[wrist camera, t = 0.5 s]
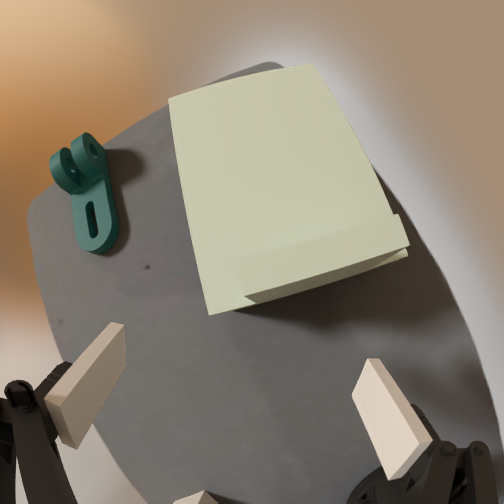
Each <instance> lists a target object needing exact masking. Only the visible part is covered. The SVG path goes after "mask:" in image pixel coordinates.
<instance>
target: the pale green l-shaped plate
mask: <svg viewBox="0 0 504 504" xmlns="http://www.w3.org/2000/svg"><path fill="white" fill-rule="evenodd" d="M168 101H169V109H170V117H171V124H172V131H173V138H174V144H175V151H176V157H177V163H178V169H179V175H180V181H181V186H182V192H183V197H184V203H185V208H186V213H187V219H188V224H189V229H190V234H191V238H192V243H193V248H194V253H195V257H196V262H197V266H198V271H199V275H200V280H201V284H202V288H203V292H204V297H205V301H206V305H207V309H208V313H209V316H213V315H217V314H221V313H225V312H229V311H233V310H237V309H240V308H244V307H248V306H252V305H255V304H259V303H263V302H266V301H270V300H273V299H277V298H281V297H284V296H288V295H291V294H294V293H298V292H301V291H305V290H308V289H311V288H315V287H318V286H321V285H324V284H328V283H331V282H334V281H337V280H340V279H344V278H347V277H350V276H353V275H356V274H359V273H362V272H365V271H368V270H371V269H374V268H377V267H380V266H383V265H386V264H389V263H391V262H394V261H397V260H400V259H403V258H405V257H407V256H408V253H407V250H406V247H408V246H409V245H410V244H409V241H408V238H407V235H406V233H405V230H404V227H403V225H402V222H401V220H400V217H399V215H398V214H395V215H393V213H392V210H391V208H390V206H389V203H388V201H387V198H386V196H385V194H384V191H383V189H382V187H381V185H380V183H379V180H378V178H377V176H376V174H375V172H374V170H373V168H372V165H371V163H370V161H369V159H368V157H367V155H366V153H365V152H364V149H363V147H362V146H361V144H360V142H359V140H358V138H357V136H356V134H355V133H354V131H353V129H352V127H351V126H350V123H349V122H348V120H347V118H346V116H345V115H344V113H343V111H342V110H341V108H340V106H339V104H338V103H337V101H336V99H335V98H334V96H333V95H332V93H331V91H330V90H329V88H328V87H327V85H326V84H325V82H324V81H323V79H322V78H321V76H320V75H319V73H318V72H317V70H316V69H315V67H314V66H313V64H308V65H307V64H306V65H300V66H293V67H287V68H281V69H275V70H270V71H265V72H260V73H255V74H251V75H247V76H242V77H238V78H234V79H230V80H227V81H223V82H219V83H216V84H212V85H209V86H205V87H202V88H199V89H196V90H192V91H190V92H186V93H184V94H181V95H178V96H175V97H172V98H169V99H168Z"/></svg>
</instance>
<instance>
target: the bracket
mask: <svg viewBox="0 0 504 504" xmlns="http://www.w3.org/2000/svg"><path fill="white" fill-rule="evenodd" d="M49 166H50V170H51V174H52V176H53V178H54V180H55V182H56V183H57V184H58V185H59V186H60V187H61V188H62V189H63V190H65V191H66V192H68V193H69V194H70V195H71V202H72V211H73V219H74V227H75V234H76V240H77V243H78V244H79V246H80V247H81V248H82V249H84V250H86V251H88V252H91V253H93V254H102V253H104V252H106V251H108V250H109V249H110V248H111V247H112V246H113V244H114V243H115V241H116V239H117V236H118V232H119V222H118V218H117V213H116V209H115V204H114V199H113V194H112V188H111V183H110V177H109V171H108V165H107V159H106V152H105V149H104V148H103V147H102V146H101V145H100V144H99V143H98V142H97V141H96V139H95V138H94V137H92V135H90V134H89V133H83V134H82V135H80V136H79V137H77V138H76V139H75V140H73V141H72V142H71V150H70V149H68V148H66V147H64V148H62V149H60V150H59V151H58V152H56V153H55V154H54V155H52V156H51V158H50V161H49ZM93 209H95V215H96V220H97V226H98V235H96V229H95V224H94V218H93Z"/></svg>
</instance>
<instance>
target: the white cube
mask: <svg viewBox="0 0 504 504" xmlns="http://www.w3.org/2000/svg"><path fill="white" fill-rule="evenodd" d="M173 504H219V503H218V502H217V501H215V500H214V499H213V498H212V497H211V496H210V495H209V494H208V493H207V492H206V491H205V490H204V491H201V492H199V493H196V494H194V495H191V496H188V497H186V498H183V499H180V500H177V501H175V502H174V503H173Z"/></svg>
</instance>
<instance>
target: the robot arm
mask: <svg viewBox="0 0 504 504" xmlns="http://www.w3.org/2000/svg"><path fill="white" fill-rule="evenodd" d="M125 368H126V353H125V335H124V325H121V324H117V323H114V322H111V323H110V324H109V325H108V326H107V327H106V328H105V329H104V330H103V331H102V333H101V334H100V335H99V336H98V337H97V338H96V339H95V340H94V341H93V342H92V343H91V345H90V346H89V347H88V348H87V349H86V350H85V351H84V352H83V353H82V355H81V356H80V357H79V358H78V359H77V360H76V361H75V362H74V364H72V363H69V362H66V361H65V362H63V363H61V364H60V365H57V366H56V368H54V370H53V371H52V372H51V373H50V374H49V375H48V376H47V378H45V379H44V380H43V382H42V383H41V384H40V385H39V386H38V387H37V388H36V389H35V390H34V391H33V388H32V386H31V385H30V384H29V383H28V382H26V381H24V380H16V381H12V382H10V383H8V384H7V386H6V387H5V390H4V393H5V395H6V397H7V399H4V398H0V504H16V500H15V498H16V497H15V477H16V475H15V474H16V457H17V459H18V464H19V469H20V473H21V478H22V482H23V486H24V490H25V493H26V496H27V500H28V503H29V504H78V503H77V501H76V499H75V496H74V494H73V491H72V489H71V486H70V483H69V481H68V478H67V476H66V473H65V470H64V467H63V464H62V461H61V458H60V455H59V451H58V448H57V444H56V442H55V439H56V438H57V436H58V435H59V437H60V439H61V442H62V443H63V444H65V445H68V446H70V447H72V448H74V449H78V447H79V445H80V443H81V442H82V440H83V438H84V437H85V435H86V433H87V431H88V430H89V428H90V426H91V424H92V423H93V421H94V419H95V418H96V416H97V414H98V412H99V411H100V409H101V407H102V406H103V404H104V402H105V401H106V399H107V397H108V396H109V394H110V392H111V391H112V389H113V387H114V386H115V384H116V383H117V381H118V379H119V378H120V376H121V374H122V373H123V371H124V370H125ZM352 398H353V400H354V402H355V404H356V407H357V409H358V411H359V413H360V416H361V418H362V420H363V422H364V425H365V427H366V429H367V431H368V434H369V436H370V438H371V441H372V443H373V445H374V448H375V450H376V452H377V455H378V457H379V459H380V462H381V464H382V466H381V467H379V468H378V469H376V470H375V471H373V472H372V473H370V474H369V475H368V476H367V477H365V478H364V479H363V480H362V481H361V482H360V483H359V484H358V485H357V486H356V487H355V489H354V490H353V491H352V493H351V494H350V496H349V498H348V500H347V503H346V504H498V497H497V490H496V483H495V477H494V471H493V466H492V461H491V457H490V452H489V449H488V447H487V445H486V444H485V443H483V442H481V441H474V442H472V443H471V444H470V445H469V447H468V448H458V449H457V448H456V446H455V445H454V444H453V443H451V442H449V441H441V439H440V438H439V436H438V435H437V433H436V432H435V430H434V429H433V427H432V426H431V424H430V423H429V421H428V420H427V418H425V415H424V414H423V412H422V411H421V409H419V408H418V407H417V406H416V405H414V404H409V402H408V401H407V399H406V398H405V396H404V395H403V393H402V392H401V390H400V389H399V387H398V386H397V384H396V383H395V381H394V380H393V378H392V377H391V375H390V374H389V372H388V371H387V370H386V368H385V367H384V365H383V364H382V362H381V361H380V359H372V358H367V361H366V363H365V366H364V368H363V371H362V373H361V375H360V378H359V380H358V382H357V384H356V387H355V389H354V391H353V393H352ZM466 479H467V484H466V485H465V480H466Z"/></svg>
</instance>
